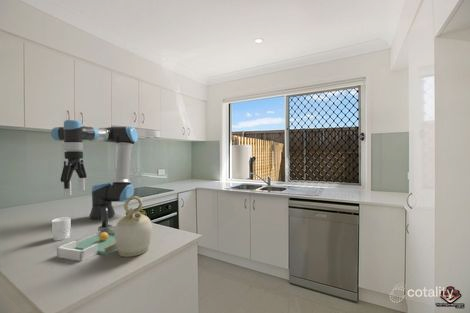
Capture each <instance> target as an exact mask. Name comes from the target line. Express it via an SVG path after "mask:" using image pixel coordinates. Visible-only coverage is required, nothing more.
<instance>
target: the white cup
mask: <svg viewBox="0 0 470 313" xmlns="http://www.w3.org/2000/svg"><path fill="white" fill-rule="evenodd" d="M71 220H72V217H70V216H64V217H57V218H53V219H52V220H51V229H52V230H51V231H52V237H53V238H52V239H53V241H63V240H66V239H69V238H70V237H71V226H72V225H71V222H72V221H71Z"/></svg>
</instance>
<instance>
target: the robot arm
mask: <svg viewBox="0 0 470 313" xmlns="http://www.w3.org/2000/svg"><path fill="white" fill-rule="evenodd" d="M50 135H51V138H52V139H53V140H54V141H57V142H58V141H60V142H63V148H64V151H65V152H64V153H63V155H64V159H66V160H64V161H63V168H62V172H61V175H60V182H61V183H63V192H64V194H63V196H72V181H71V179H72V176H73V173H74V172H75V173H76V174H77V176H78V178H77V185H78V186H77V187H78V189H77V190H78V191H85V190H86V188H85V185H86V184H85V178H87V172H86V169H85V166H84V160H83V158H84V152H83V150H84V148H83V147H84V143H83V141H90V142H92V141H98V142H105V143H106V142H107V143H116V144H115V145H116V146H117V147H118V148H117V160H116V169H115V179H114V180H113V181H112V182H105V183H104V182H103V183H99V184H94V185H92V187H91V197H92V198H91V204H92V205H91V206H92V207H91V210H90V213H89V219H90V220H102V213H101V208H104V207H108V219H109V218H113V217H115V209H114V206H113V203H114V202H117V203H118V202H119V203H123V202H124V203H125V201H126V199H127V198H129V197H131V196H134V193H135V187H134V185H133V184H132V181H131V180H130V173H131V172H130V171H131V159H132V148H133V147H134V146H135V143H137V142H138V140H139V135H138V132H137V129H136V128H135V127H133V126H110V127H109V126H108V127H98V128H95V127H92V126H86V125H83V123H82V121H80V120H75V119H66V120H64V121H63V126H57V127H53V128H52V129H51V131H50Z"/></svg>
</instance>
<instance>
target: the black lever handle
mask: <svg viewBox="0 0 470 313" xmlns="http://www.w3.org/2000/svg"><path fill="white" fill-rule="evenodd" d="M101 213H102V219H101V225H100V226H98V227H97V231H98V232H101V231H102V232H105V231H106V232H115V227H116V226H113V225H112V224H109V218H108V207H104V208H101Z"/></svg>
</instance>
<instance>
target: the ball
mask: <svg viewBox="0 0 470 313" xmlns="http://www.w3.org/2000/svg"><path fill="white" fill-rule="evenodd" d="M107 238H108V233H106V232H102V233H101V234H100V235H99V239H100V240H101V241H104V240H106V239H107Z"/></svg>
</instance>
